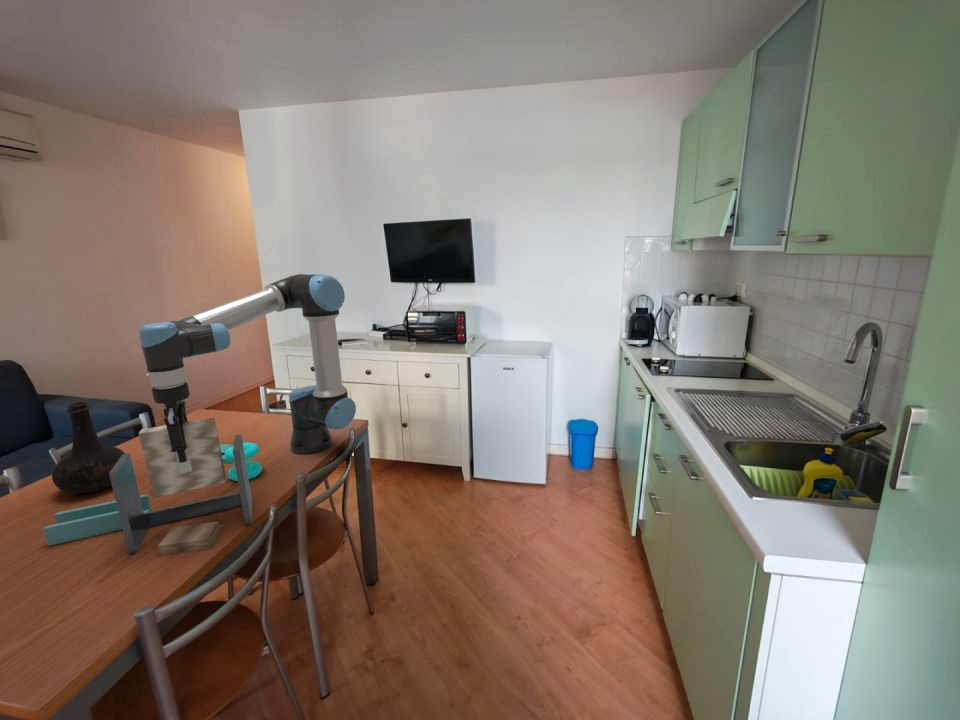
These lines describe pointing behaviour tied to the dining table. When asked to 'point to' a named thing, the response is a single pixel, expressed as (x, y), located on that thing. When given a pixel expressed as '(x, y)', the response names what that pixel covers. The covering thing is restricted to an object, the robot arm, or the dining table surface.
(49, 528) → the teal open channel
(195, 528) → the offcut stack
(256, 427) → the dining table surface
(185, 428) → the birch sheet
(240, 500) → the rack
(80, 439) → the glass bottle
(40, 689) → the dining table surface
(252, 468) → the turquoise spool
